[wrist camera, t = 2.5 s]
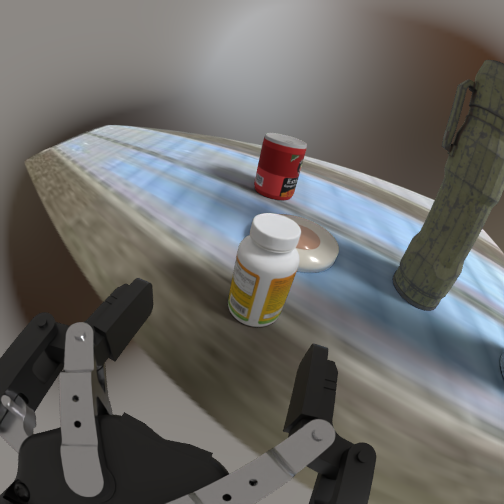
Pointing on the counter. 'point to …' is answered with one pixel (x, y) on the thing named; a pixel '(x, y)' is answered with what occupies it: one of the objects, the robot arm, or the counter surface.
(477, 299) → the counter surface
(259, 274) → the supplement bottle
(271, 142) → the canned food
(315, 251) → the coaster
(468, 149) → the thermos
